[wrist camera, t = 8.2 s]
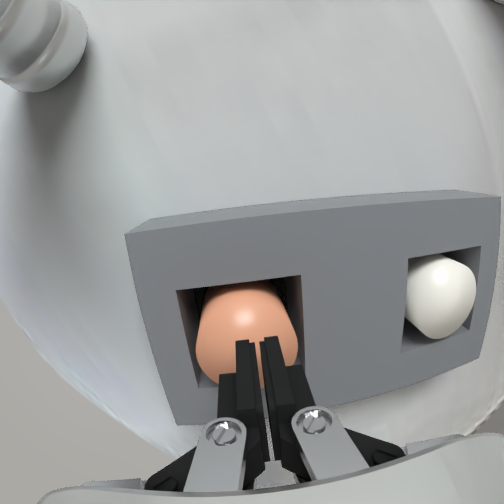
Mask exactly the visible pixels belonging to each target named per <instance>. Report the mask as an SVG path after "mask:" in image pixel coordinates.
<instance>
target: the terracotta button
mask: <svg viewBox="0 0 504 504" xmlns="http://www.w3.org/2000/svg"><path fill="white" fill-rule="evenodd" d="M270 336H278V339H279V343H280V346H281V350H282V354H283V358H284V362H285V366H291V365H293V364H294V362H295V359H296V357H297V352H298V342H297V337H296V334H295V331H294V329H293V326H292V324H291V322H290V319H289V317H288V314H287V312H286V310H285V307H284V305H283V303H282V300H281V298H280V295H279V293H278V291H277V289H276V288H275V286H274V285H273V284H272V283H271V282H270V281H269V280H268V279H265V280H257V281H249V282H241V283H233V284H225V285H216V286H211V287H210V288H209V289H208V291H207V293H206V295H205V298H204V303H203V308H202V314H201V319H200V325H199V331H198V336H197V342H196V357H197V360H198V363H199V365H200V367H201V369H202V370H203V372H204V373H205V374H206V375H207V376H208V377H209V378H210V379H211V380H212V381H214V382H216V383H217V384H219V374H226V373H236V349H235V341H237V340H246V339H249V343H251V342H255V348H256V356H257V364H258V372H259V379H260V387H261V388H264V379H263V371H262V362H261V354H260V345H259V341H264V337H270Z"/></svg>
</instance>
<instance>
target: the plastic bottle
mask: <svg viewBox="0 0 504 504" xmlns="http://www.w3.org/2000/svg"><path fill="white" fill-rule="evenodd" d="M87 38H88V28H87V25H86V22H85V20H84V18H83V16H82V14H81V12H80V11H79V10H78V8H77V7H75V6H74V5H72V4H70V3H69V2H67V1H66V0H0V80H1V81H3V82H4V83H5V84H7V85H9V86H11V87H12V88H14V89H16V90H18V91H23V92H42V91H46V90H48V89H51V88H52V87H54V86H56V85H57V84H59V83H60V82H61V81H63V80H64V79H65V78H67V77H68V76H69V75H70V74H71V73H72V71H73V70H74V69H75V68H76V66H77V65H78V63H79V61H80V60H81V58H82V55H83V53H84V50H85V47H86V43H87Z"/></svg>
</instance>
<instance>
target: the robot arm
mask: <svg viewBox="0 0 504 504" xmlns="http://www.w3.org/2000/svg"><path fill="white" fill-rule="evenodd" d="M494 1H496V2H498V3H500V4H504V0H494ZM259 345H260V354H261V362H262V371H263V379H264V388H265V396H266V403H267V410H268V417H269V423H270V430H271V437H272V444H273V450H274V457H275V461H276V460H281V464H282V467H283V468H285V469H287V470H289V471H291V472H293V474H294V479H295V481H296V484H293V485H287V486H279V487H272V488H263V489H256V485H257V480H256V478H257V477H258V476H259V475H260V474H261V473H262V472H263V471H264V470H265V463H264V462H268V461H270V456H269V448H268V441H267V433H266V426H265V418H264V410H263V403H262V395H261V387H260V379H259V372H258V364H257V356H256V348H255V342H251V343H249V339H246V340H237V341H235V349H236V373H226V374H219V386H218V407H217V419H215V420H212V421H211V422H209V423H207V424H206V425H205V426H204V427H203V429H202V431H201V434H200V438H199V441H198V444H197V446H196V447H195V448H193V449H192V450H190V451H189V452H187V453H186V454H184V455H183V456H181V457H180V458H178V459H177V460H175V461H174V462H172V463H171V464H170V465H168V466H166V467H165V468H164V469H162V470H160V471H158V472H157V473H155V474H154V475H152V476H151V477H150V478H149V479H148V480H144V481H142V480H141V479H140V478H137V479H126V480H111V481H91V482H86V483H84V484H83V485H81V486H74V487H66V488H60V489H57V490H53V491H51V492H49V493H47V494H46V495H44V496H43V497H42V498H41V499H40V500H39V502H38V503H37V504H504V435H502V434H497V433H480V434H472V435H467V436H463V435H459V434H456V435H450V436H445V437H441V438H436V439H431V440H426V441H420V442H414V443H408V444H406V446H405V447H399V446H397V445H394V444H392V443H389V442H385V441H382V440H379V439H376V438H373V437H370V436H367V435H364V434H361V433H358V432H355V431H352V430H349V429H347V428H344V427H343V426H342V424H341V423H340V421H339V420H338V418H337V416H336V415H335V414H334V413H333V412H332V411H331V410H329V409H328V408H325V407H321V406H316V404H315V401H314V398H313V395H312V393H311V390H310V387H309V384H308V381H307V378H306V375H305V372H304V369H303V366H302V364H298V365H291V366H285V362H284V358H283V354H282V350H281V346H280V343H279V339H278V336H270V337H264V341H259Z"/></svg>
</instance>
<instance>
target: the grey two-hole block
mask: <svg viewBox="0 0 504 504" xmlns="http://www.w3.org/2000/svg"><path fill="white" fill-rule="evenodd" d="M500 214H501V197H499V196H493V195H487V194H481V193H474V192H467V191H460V190H442V191H420V192H401V193H385V194H370V195H357V196H344V197H332V198H321V199H310V200H299V201H289V202H280V203H270V204H261V205H252V206H244V207H235V208H227V209H219V210H211V211H204V212H196V213H189V214H182V215H175V216H168V217H161V218H154V219H150V220H148V221H146V222H144V223H143V224H141V225H139V226H137V227H136V228H134V229H132V230H131V231H129V232H127V233H125V239H126V245H127V250H128V255H129V260H130V265H131V270H132V274H133V279H134V283H135V288H136V292H137V296H138V301H139V305H140V309H141V313H142V317H143V320H144V324H145V328H146V332H147V335H148V339H149V342H150V346H151V349H152V353H153V356H154V359H155V362H156V366H157V369H158V372H159V375H160V378H161V381H162V384H163V387H164V390H165V393H166V396H167V399H168V402H169V405H170V408H171V410H172V413H173V416H174V418H175V421H176V424H177V425H201V424H207V423H209V422H211V421H212V420H215V419H217V407H218V386H219V384H217V383H216V382H214V381H212V380H211V379H210V378H209V377H208V376H207V375H206V374H205V373H204V372H203V370H202V369H201V367H200V365H199V363H198V360H197V357H196V342H197V336H198V331H199V325H200V323H199V317H198V312H197V307H196V302H195V296H194V291H193V288H199V287H208V286H216V285H225V284H233V283H241V282H249V281H257V280H265V279H272V278H280V277H286V289H287V302H288V316H289V319H290V322H291V324H292V326H293V329H294V331H295V334H296V337H297V342H298V352H297V357H296V359H295V362H294V364H293V365H298V364H302V366H303V369H304V372H305V375H306V378H307V381H308V384H309V387H310V390H311V393H312V395H313V398H314V401H315V404H316V406H321V407H325V408H327V407H332V406H336V405H340V404H345V403H349V402H353V401H357V400H361V399H364V398H368V397H372V396H375V395H379V394H382V393H386V392H389V391H392V390H396V389H399V388H402V387H405V386H408V385H411V384H414V383H417V382H420V381H423V380H425V379H428V378H431V377H434V376H436V375H439V374H441V373H444V372H447V371H449V370H452V369H454V368H457V367H459V366H461V365H464V364H466V363H468V362H471V361H473V360H475V359H477V358H479V355H480V351H481V348H482V344H483V340H484V336H485V331H486V327H487V322H488V318H489V313H490V308H491V302H492V296H493V290H494V284H495V277H496V269H497V260H498V249H499V236H500ZM437 253H439V254H441V255H443V256H446V257H448V258H450V259H452V260H455V261H457V262H459V263H461V264H463V265H465V266H467V267H468V268H470V270H471V271H472V273H473V274H474V277H475V281H476V296H475V301H474V304H473V307H472V309H471V311H470V313H469V315H468V317H467V319H466V320H465V321H464V323H463V324H462V325H461V326H460V327H459V328H458V329H457V330H456V331H455V332H453V333H452V334H450V335H449V336H447V337H444V338H441V339H432V338H429V337H427V336H426V335H425V334H423V333H422V332H421V331H420V330H419V329H418V328H417V327H416V326H414V325H413V324H412V323H411V322H410V321H409V320H408V319H406V318H405V317H404V316H405V306H406V293H407V277H408V258H414V257H420V256H426V255H432V254H437ZM261 395H262V403H263V410H264V418H269V417H268V410H267V403H266V396H265V388H261Z"/></svg>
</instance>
